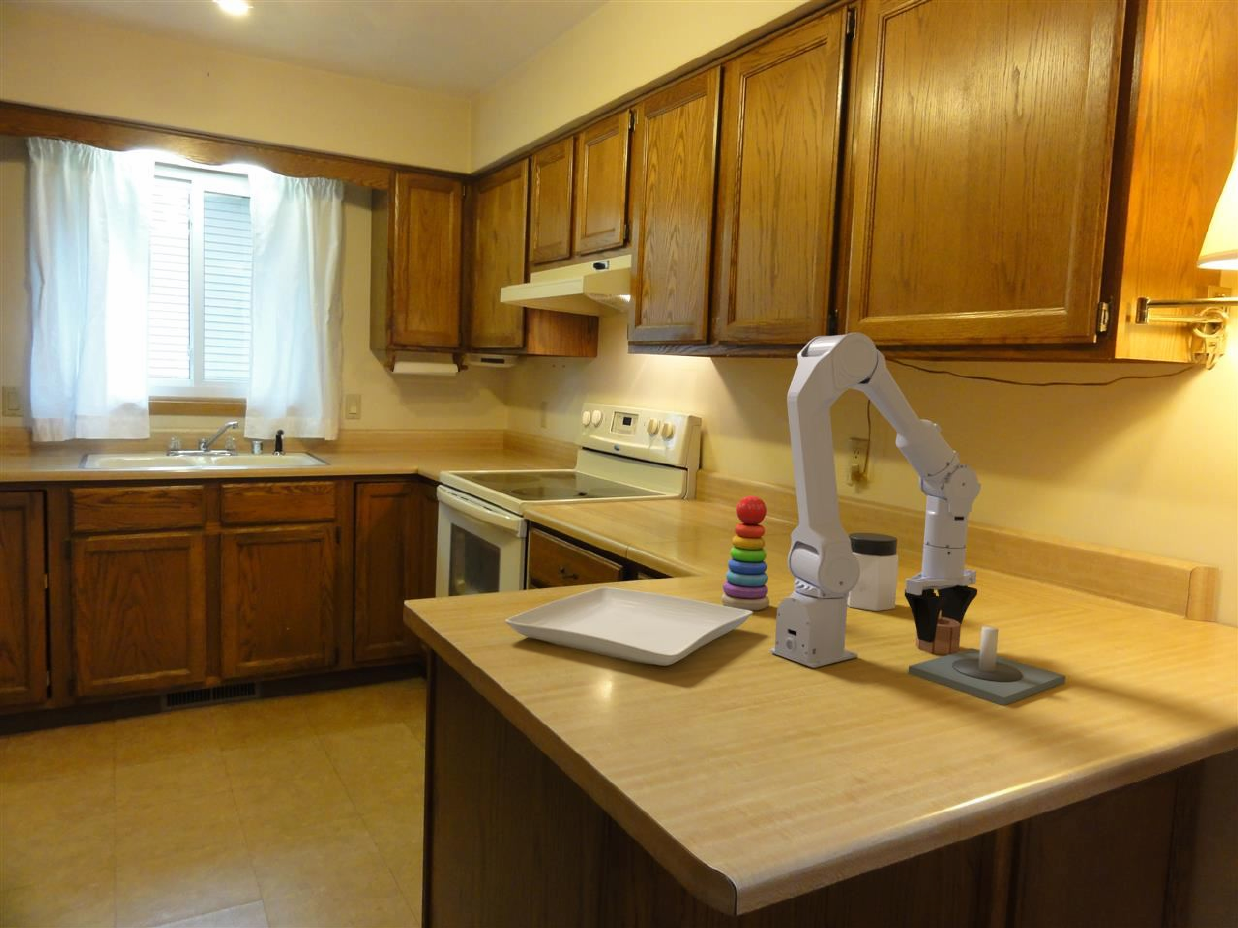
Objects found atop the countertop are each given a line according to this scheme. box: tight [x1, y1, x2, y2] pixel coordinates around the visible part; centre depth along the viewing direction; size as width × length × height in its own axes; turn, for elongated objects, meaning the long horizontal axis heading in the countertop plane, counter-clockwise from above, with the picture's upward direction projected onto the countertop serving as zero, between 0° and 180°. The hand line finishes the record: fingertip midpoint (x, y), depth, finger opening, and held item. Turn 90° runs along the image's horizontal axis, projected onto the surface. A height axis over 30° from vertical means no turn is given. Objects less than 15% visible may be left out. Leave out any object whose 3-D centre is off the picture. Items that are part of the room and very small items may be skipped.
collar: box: [915, 615, 962, 656], centre depth 122 cm, size 6×6×4 cm
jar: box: [847, 532, 899, 612], centre depth 146 cm, size 9×8×12 cm
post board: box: [908, 626, 1066, 706], centre depth 110 cm, size 15×13×7 cm
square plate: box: [504, 586, 754, 667], centre depth 123 cm, size 27×27×4 cm
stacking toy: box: [721, 495, 770, 612], centre depth 141 cm, size 8×8×19 cm
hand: (937, 637), depth 122 cm, fingers closed on collar, 6 cm apart
